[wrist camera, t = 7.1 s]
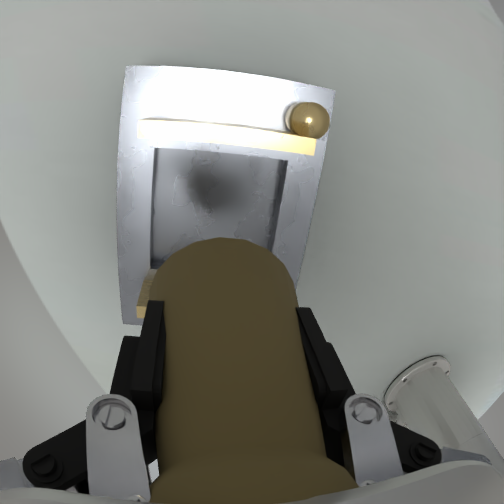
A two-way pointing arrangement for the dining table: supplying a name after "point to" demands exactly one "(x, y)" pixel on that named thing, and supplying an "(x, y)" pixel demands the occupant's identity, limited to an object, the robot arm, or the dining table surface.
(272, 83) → the grey slotted box
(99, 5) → the dining table surface
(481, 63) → the dining table surface
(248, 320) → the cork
